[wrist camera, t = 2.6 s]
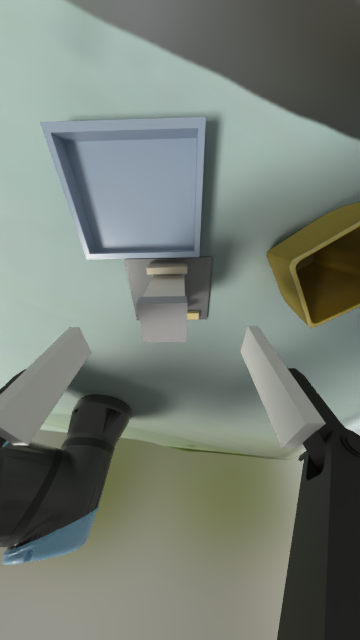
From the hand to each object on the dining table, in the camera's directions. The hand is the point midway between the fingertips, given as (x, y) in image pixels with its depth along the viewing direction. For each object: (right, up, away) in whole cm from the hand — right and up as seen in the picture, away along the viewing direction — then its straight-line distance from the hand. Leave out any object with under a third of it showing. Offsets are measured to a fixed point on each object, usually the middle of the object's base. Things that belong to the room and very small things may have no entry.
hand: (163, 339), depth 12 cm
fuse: (0, +7, +11) cm, 13 cm away
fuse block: (0, +6, +12) cm, 13 cm away
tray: (-3, +15, +6) cm, 17 cm away
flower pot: (+17, +11, +9) cm, 22 cm away
